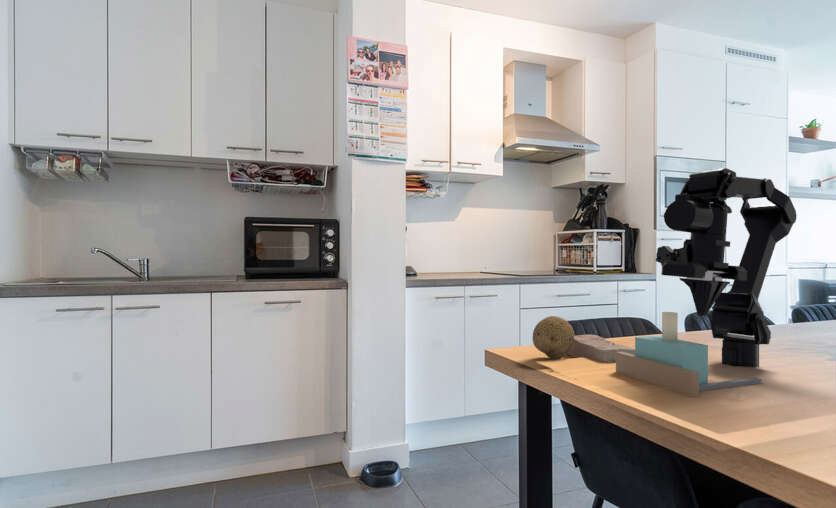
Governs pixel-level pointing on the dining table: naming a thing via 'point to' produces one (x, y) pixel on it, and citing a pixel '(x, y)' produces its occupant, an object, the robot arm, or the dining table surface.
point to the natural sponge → (553, 337)
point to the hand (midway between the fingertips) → (701, 315)
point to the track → (670, 375)
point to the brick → (597, 348)
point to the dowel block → (674, 348)
